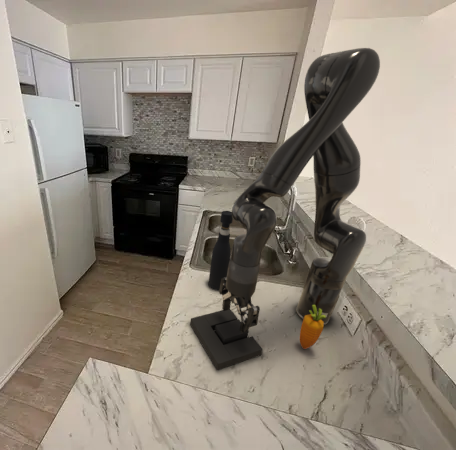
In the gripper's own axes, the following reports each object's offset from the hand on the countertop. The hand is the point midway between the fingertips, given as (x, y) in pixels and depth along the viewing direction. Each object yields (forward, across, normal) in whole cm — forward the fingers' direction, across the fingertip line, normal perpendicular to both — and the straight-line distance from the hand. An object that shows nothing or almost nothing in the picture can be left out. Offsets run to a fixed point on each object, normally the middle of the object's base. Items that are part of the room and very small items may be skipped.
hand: (234, 319), depth 73 cm
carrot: (+7, -10, -17) cm, 21 cm away
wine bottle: (+7, +22, -8) cm, 25 cm away
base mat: (+7, 0, +3) cm, 7 cm away
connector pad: (+7, 0, 0) cm, 7 cm away
